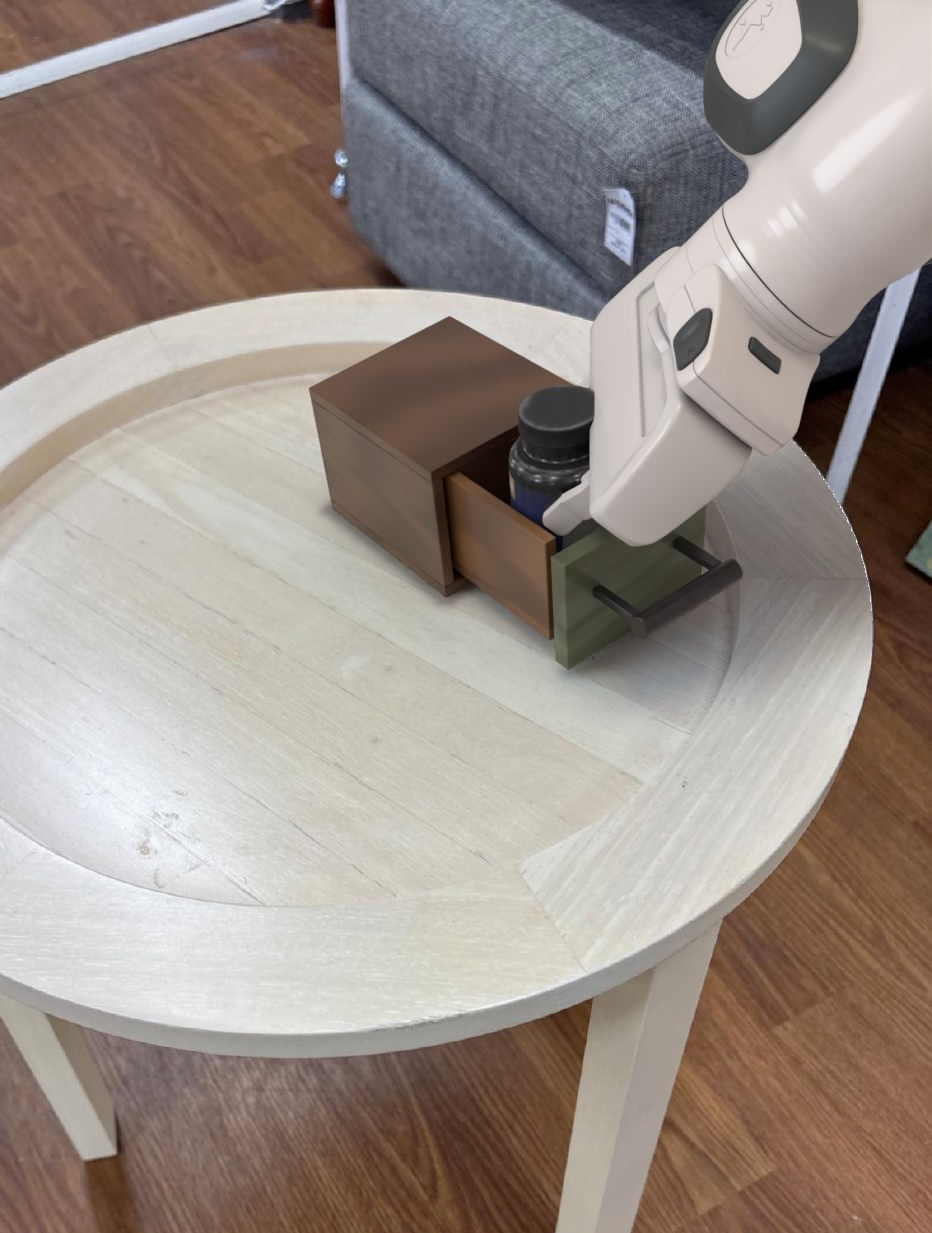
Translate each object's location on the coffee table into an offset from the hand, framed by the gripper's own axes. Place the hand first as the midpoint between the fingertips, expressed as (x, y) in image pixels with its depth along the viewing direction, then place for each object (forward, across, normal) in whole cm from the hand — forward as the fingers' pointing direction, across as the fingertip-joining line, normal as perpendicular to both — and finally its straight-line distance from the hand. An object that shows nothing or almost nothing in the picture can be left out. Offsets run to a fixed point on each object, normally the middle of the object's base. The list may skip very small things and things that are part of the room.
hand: (552, 484), depth 76 cm
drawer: (+4, +2, +7) cm, 8 cm away
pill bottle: (+4, 0, +5) cm, 6 cm away
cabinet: (+11, -9, +1) cm, 14 cm away
